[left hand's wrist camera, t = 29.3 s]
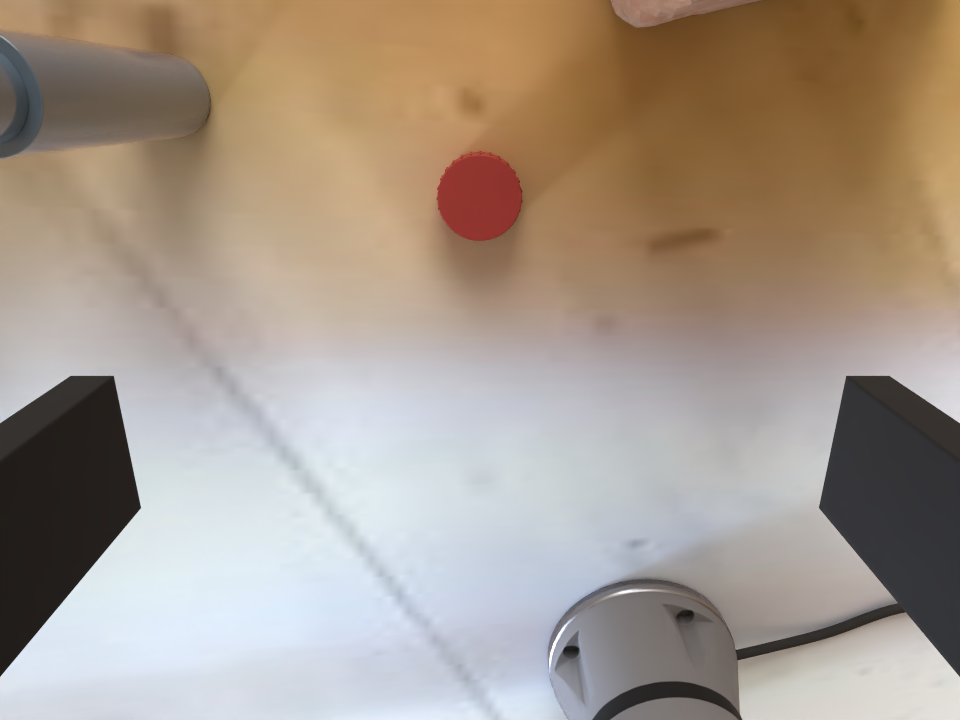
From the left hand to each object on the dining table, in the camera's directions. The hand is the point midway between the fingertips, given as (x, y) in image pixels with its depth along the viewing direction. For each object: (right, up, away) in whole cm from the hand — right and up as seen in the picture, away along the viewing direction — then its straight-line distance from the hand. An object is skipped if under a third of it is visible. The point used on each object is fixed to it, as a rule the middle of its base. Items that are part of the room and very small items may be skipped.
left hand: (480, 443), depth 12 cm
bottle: (-19, +18, +29) cm, 39 cm away
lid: (0, +12, +29) cm, 32 cm away
